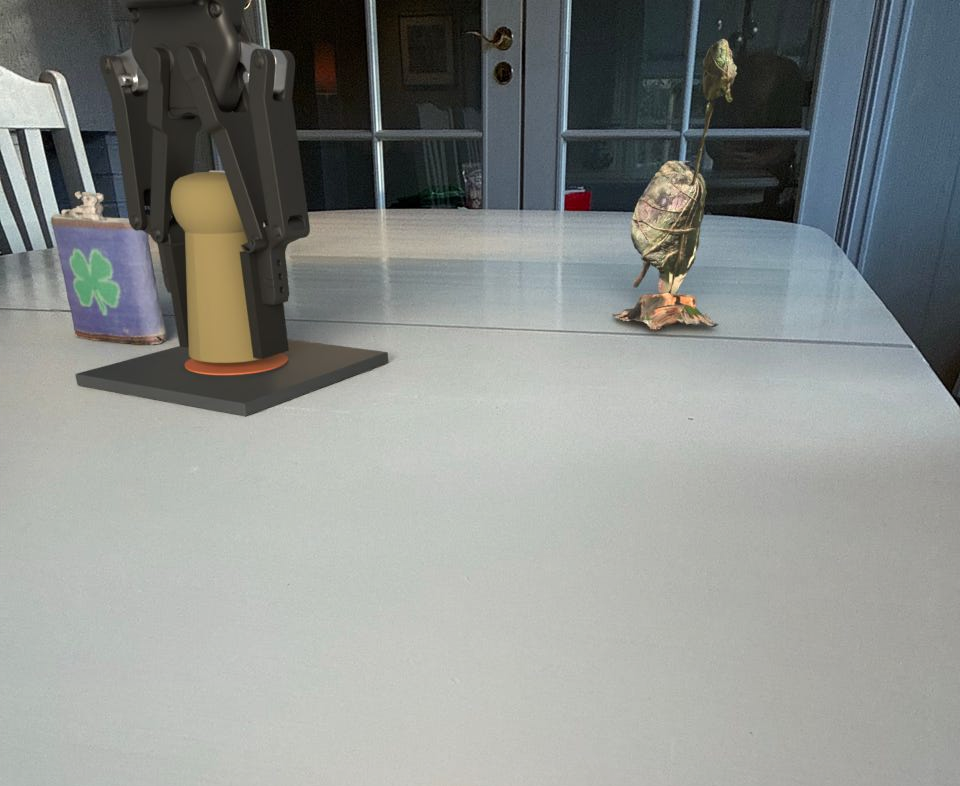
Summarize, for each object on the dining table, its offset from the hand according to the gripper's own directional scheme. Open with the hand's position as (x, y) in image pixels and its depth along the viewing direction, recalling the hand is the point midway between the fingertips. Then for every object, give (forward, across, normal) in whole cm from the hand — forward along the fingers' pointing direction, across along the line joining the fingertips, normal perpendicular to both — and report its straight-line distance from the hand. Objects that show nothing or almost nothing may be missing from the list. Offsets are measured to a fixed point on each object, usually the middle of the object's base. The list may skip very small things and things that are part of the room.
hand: (233, 347), depth 62 cm
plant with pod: (+2, -20, -30) cm, 36 cm away
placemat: (+2, 0, 0) cm, 2 cm away
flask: (+2, +16, -4) cm, 17 cm away
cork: (0, 0, 0) cm, 0 cm away
